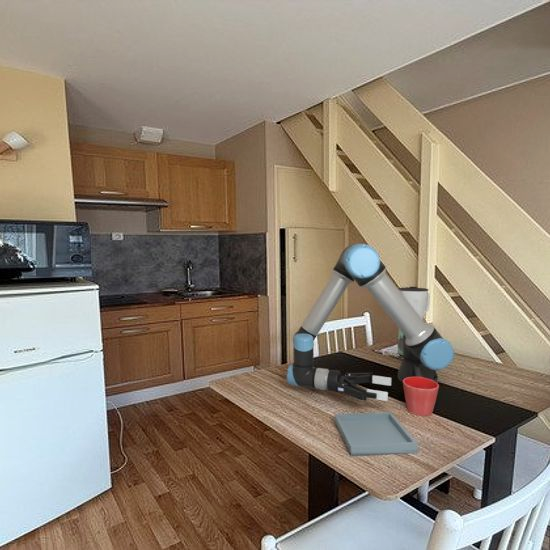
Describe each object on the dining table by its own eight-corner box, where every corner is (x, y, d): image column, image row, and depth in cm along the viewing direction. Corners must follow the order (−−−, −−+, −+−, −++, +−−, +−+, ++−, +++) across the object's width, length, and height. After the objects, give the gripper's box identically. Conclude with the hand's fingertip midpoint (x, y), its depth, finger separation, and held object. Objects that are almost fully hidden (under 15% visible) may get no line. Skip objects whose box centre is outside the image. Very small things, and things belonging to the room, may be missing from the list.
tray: (390, 419, 110) (390, 411, 109) (418, 452, 92) (418, 443, 92) (334, 421, 108) (334, 414, 108) (351, 456, 91) (351, 447, 90)
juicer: (411, 364, 162) (413, 289, 159) (389, 356, 173) (390, 286, 171) (437, 357, 171) (439, 286, 168) (414, 350, 183) (416, 284, 180)
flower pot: (435, 421, 108) (436, 391, 107) (399, 413, 114) (399, 384, 113) (440, 408, 117) (440, 380, 116) (405, 401, 123) (406, 374, 122)
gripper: (336, 378, 139) (392, 386, 131) (319, 404, 116) (385, 415, 108) (336, 359, 138) (392, 366, 130) (319, 382, 115) (386, 392, 107)
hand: (389, 388), depth 119 cm, fingers open, 13 cm apart
